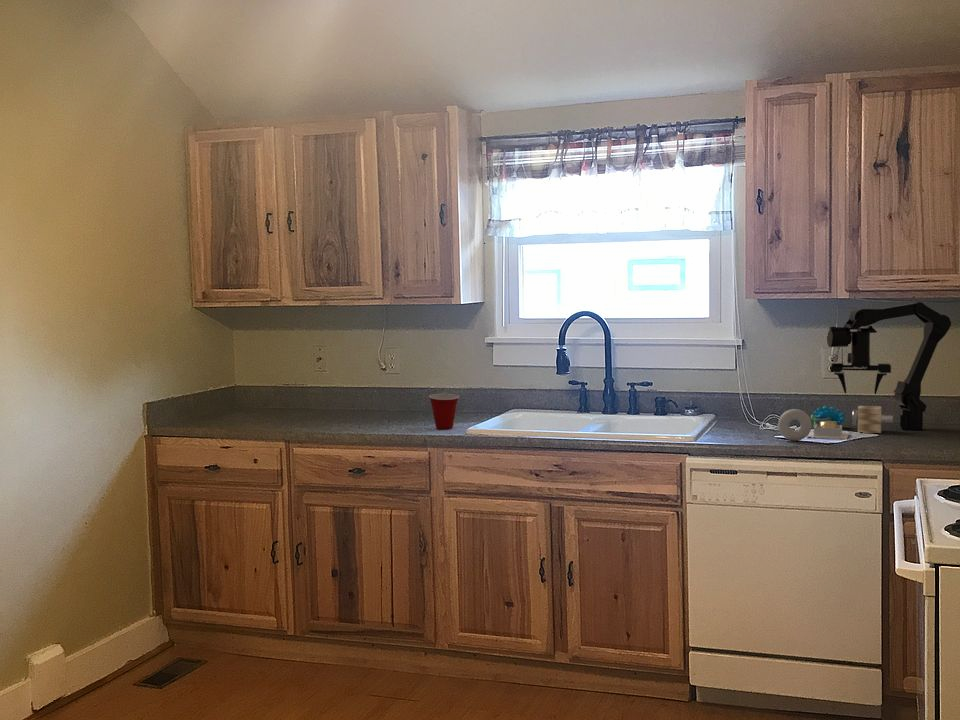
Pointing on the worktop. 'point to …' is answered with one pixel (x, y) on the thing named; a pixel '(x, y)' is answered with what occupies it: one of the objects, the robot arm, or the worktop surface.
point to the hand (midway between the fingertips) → (860, 393)
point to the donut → (794, 415)
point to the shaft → (883, 417)
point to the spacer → (828, 424)
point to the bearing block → (869, 419)
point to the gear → (827, 415)
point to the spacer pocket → (828, 432)
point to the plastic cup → (444, 409)
